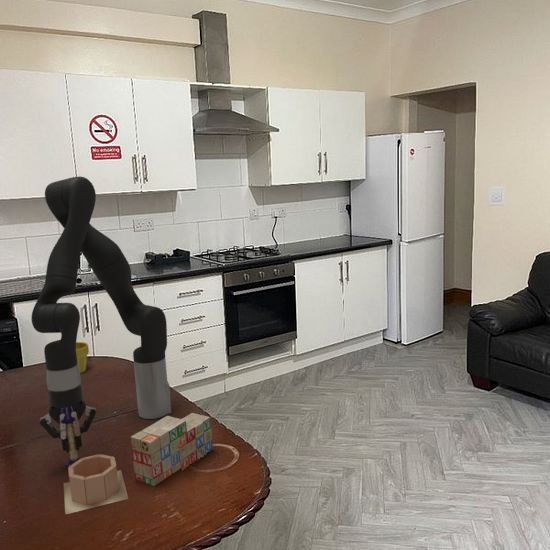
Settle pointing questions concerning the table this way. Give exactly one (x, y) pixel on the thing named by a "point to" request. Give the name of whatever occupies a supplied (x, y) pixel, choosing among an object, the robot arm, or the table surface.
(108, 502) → the birch board
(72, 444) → the toy lamp
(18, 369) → the table surface
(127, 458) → the table surface
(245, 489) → the table surface
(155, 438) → the stack of blocks
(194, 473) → the table surface
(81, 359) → the plant pot
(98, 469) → the beige octagonal hollow piece
